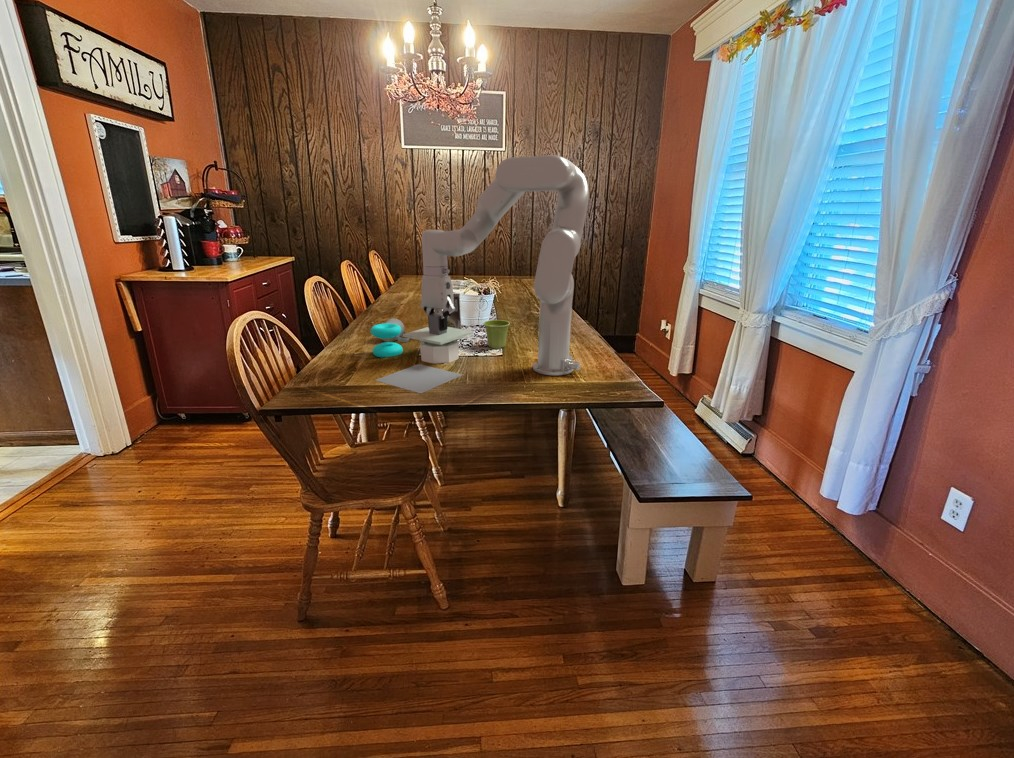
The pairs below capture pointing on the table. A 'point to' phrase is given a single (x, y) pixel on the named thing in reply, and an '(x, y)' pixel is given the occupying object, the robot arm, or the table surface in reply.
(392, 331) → the donuts
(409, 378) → the mat
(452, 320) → the coffee box
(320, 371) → the table surface
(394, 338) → the ceramic mug
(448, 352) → the bowl
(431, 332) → the lid
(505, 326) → the plant pot
